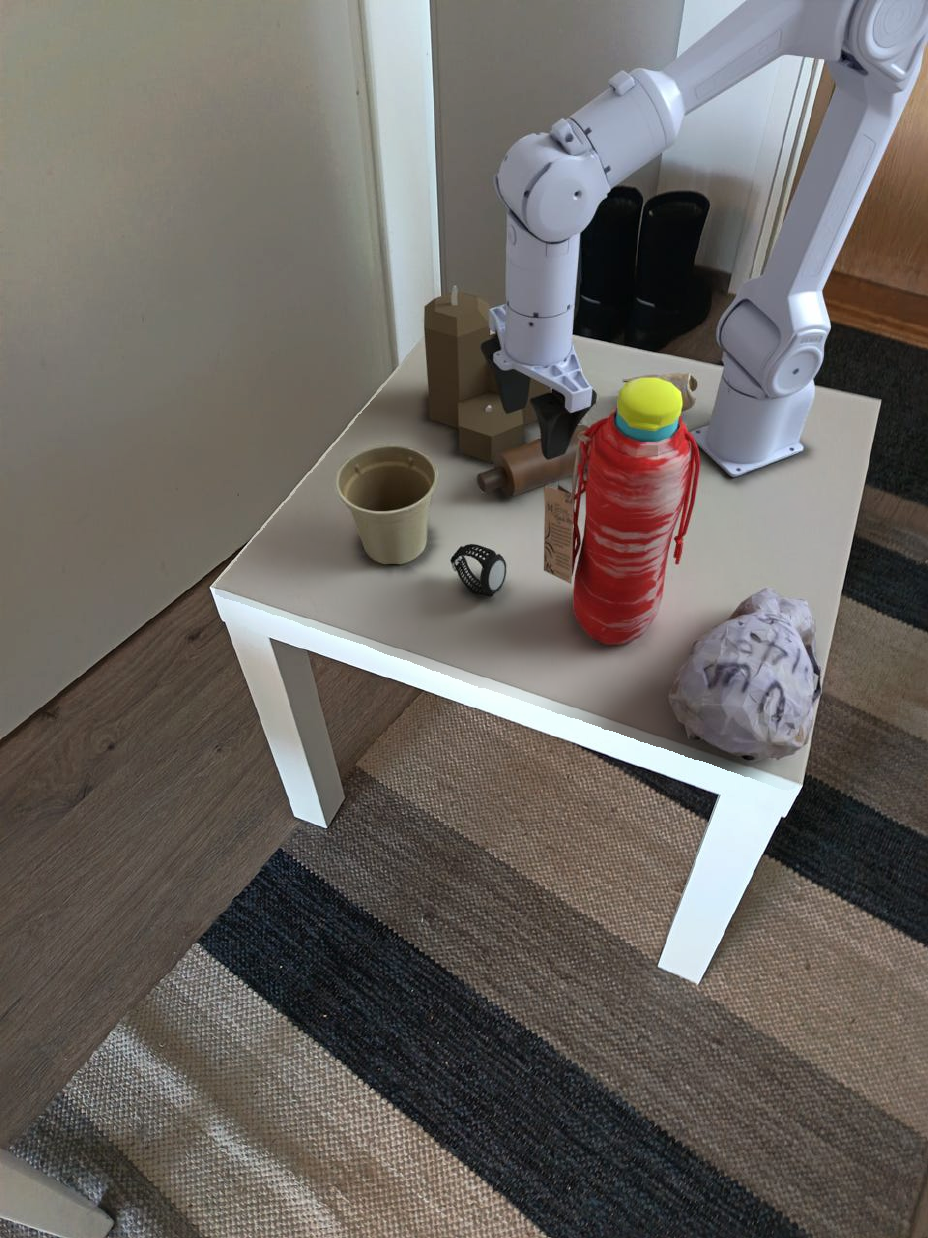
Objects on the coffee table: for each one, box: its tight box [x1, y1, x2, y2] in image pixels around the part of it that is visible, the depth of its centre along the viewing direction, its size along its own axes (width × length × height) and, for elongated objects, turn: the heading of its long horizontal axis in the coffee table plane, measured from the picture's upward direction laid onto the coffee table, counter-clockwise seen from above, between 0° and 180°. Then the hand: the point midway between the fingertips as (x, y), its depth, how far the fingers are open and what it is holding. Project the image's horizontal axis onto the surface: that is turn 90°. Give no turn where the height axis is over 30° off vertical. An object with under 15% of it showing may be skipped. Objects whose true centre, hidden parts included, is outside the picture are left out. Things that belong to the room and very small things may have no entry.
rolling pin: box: [476, 423, 594, 498], centre depth 89 cm, size 15×5×5 cm, turn 116°
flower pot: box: [334, 443, 439, 565], centre depth 82 cm, size 9×9×9 cm
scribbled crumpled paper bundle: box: [667, 587, 823, 764], centre depth 69 cm, size 19×12×10 cm, turn 137°
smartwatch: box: [449, 543, 507, 598], centre depth 79 cm, size 4×5×5 cm
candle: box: [423, 284, 552, 464], centre depth 92 cm, size 14×14×15 cm
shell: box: [621, 372, 698, 413], centre depth 96 cm, size 8×4×5 cm, turn 84°
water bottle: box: [543, 378, 701, 645], centre depth 69 cm, size 12×8×25 cm, turn 71°
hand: (534, 431), depth 81 cm, fingers open, 7 cm apart
